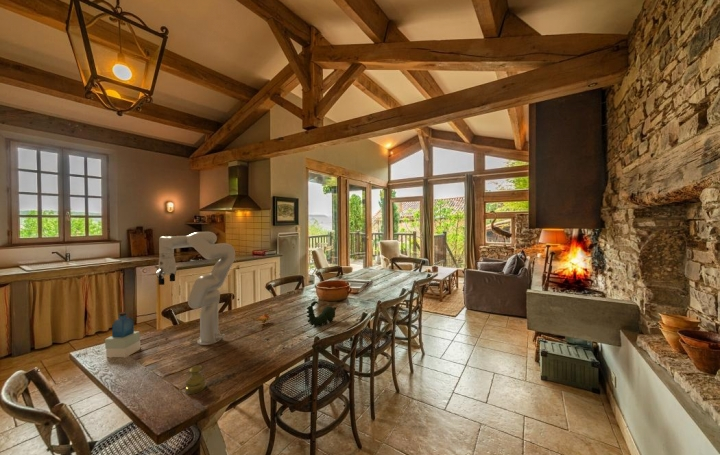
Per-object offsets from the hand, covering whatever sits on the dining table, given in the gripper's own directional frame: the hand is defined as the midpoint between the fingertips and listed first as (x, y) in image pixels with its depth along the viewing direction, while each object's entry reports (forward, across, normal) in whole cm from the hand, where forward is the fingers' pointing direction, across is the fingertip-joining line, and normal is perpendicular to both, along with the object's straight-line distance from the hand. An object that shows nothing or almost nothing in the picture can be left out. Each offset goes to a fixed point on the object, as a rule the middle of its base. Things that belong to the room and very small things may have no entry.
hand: (167, 282), depth 175 cm
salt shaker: (+32, -57, -52) cm, 84 cm away
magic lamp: (+32, +17, -54) cm, 65 cm away
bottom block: (+32, -26, +6) cm, 42 cm away
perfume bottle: (+23, -26, +6) cm, 35 cm away
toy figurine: (+33, +18, -96) cm, 103 cm away
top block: (+28, -26, +6) cm, 38 cm away
